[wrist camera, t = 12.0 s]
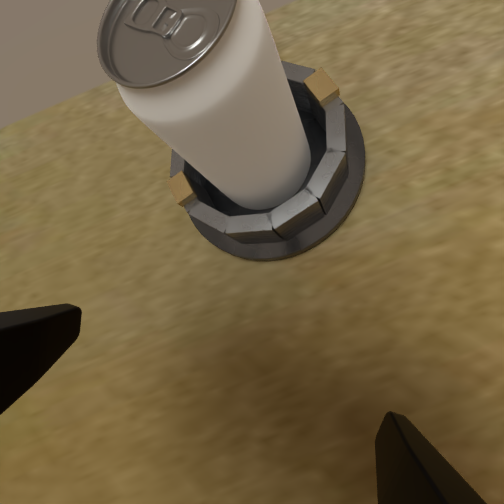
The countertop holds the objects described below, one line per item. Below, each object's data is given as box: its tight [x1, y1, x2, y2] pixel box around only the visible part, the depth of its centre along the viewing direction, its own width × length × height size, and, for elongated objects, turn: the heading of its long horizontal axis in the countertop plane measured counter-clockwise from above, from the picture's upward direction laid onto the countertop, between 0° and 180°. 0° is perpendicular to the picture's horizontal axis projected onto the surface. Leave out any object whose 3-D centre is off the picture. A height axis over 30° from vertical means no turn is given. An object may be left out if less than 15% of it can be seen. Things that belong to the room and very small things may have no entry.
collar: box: [167, 61, 365, 261], centre depth 21 cm, size 13×13×5 cm
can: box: [97, 0, 311, 210], centre depth 16 cm, size 6×6×12 cm
